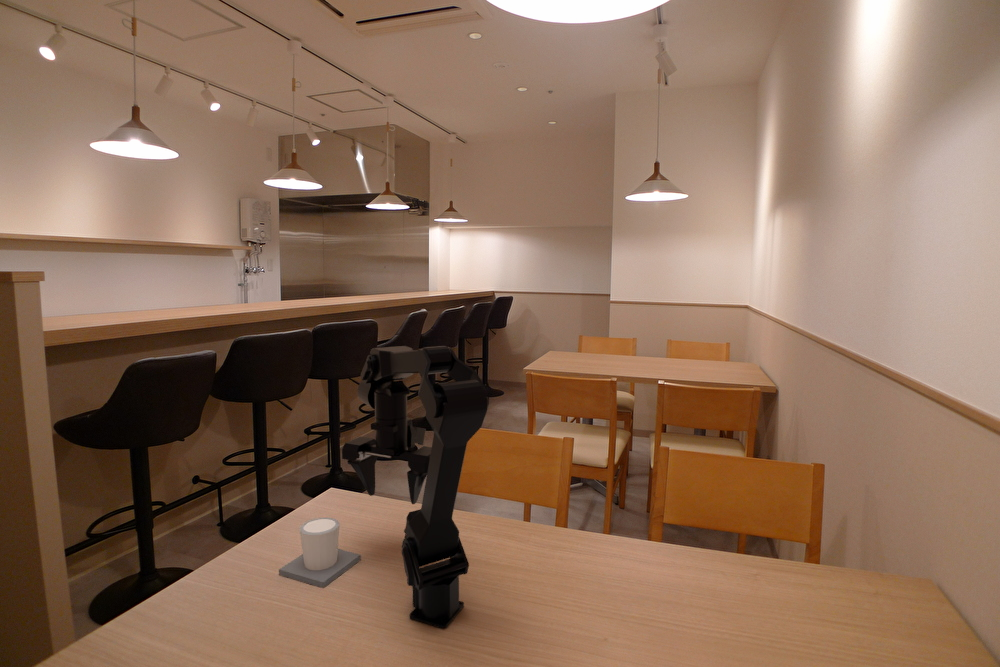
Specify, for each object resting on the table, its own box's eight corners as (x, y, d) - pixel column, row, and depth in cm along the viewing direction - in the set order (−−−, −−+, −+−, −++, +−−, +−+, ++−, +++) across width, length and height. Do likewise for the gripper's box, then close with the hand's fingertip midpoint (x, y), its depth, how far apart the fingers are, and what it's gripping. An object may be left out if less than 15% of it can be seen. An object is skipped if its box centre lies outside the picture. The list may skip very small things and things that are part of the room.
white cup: (346, 553, 100) (345, 517, 100) (331, 573, 94) (329, 535, 93) (311, 551, 101) (310, 515, 100) (293, 571, 94) (292, 533, 94)
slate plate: (360, 559, 100) (360, 554, 100) (323, 588, 91) (323, 582, 91) (318, 548, 104) (318, 543, 104) (279, 574, 95) (278, 569, 95)
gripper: (458, 411, 100) (458, 491, 102) (375, 401, 108) (377, 476, 109) (426, 426, 90) (427, 515, 92) (338, 414, 98) (340, 497, 99)
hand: (392, 499), depth 98 cm, fingers open, 9 cm apart
